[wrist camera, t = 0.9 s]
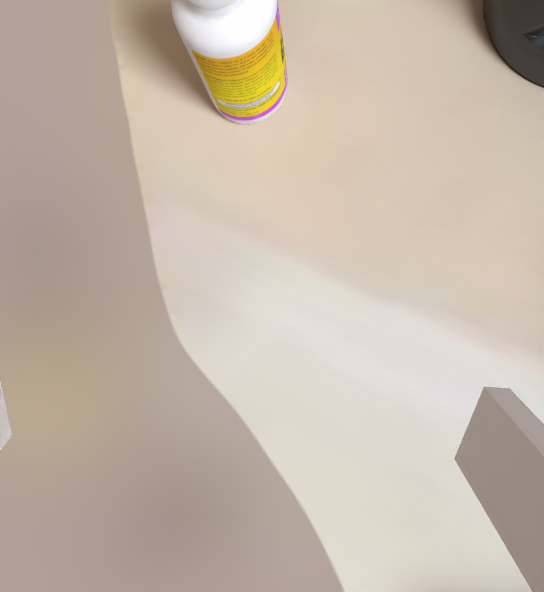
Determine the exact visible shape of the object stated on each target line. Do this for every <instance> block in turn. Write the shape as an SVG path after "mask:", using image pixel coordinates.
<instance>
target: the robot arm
mask: <svg viewBox="0 0 544 592" xmlns="http://www.w3.org/2000/svg"><path fill="white" fill-rule="evenodd" d="M484 15H485V21H486V25H487V29H488V32H489V35H490V37H491V40H492V42H493V43H494V45H495V47H496V49H497V50H498V52H499V53H500V55H501V56H502V57H503V58H504V60H505V61H506V62H507V63H508V64H509V65H510V66H511V67H512V68H513V69H515V70H516V71H517V72H518V73H520V74H521V75H523V76H524V77H526V78H527V79H529V80H531V81H533V82H535V83H537V84H539V85H541V86H544V0H484ZM11 436H12V434H11V429H10V424H9V420H8V416H7V410H6V406H5V401H4V396H3V392H2V387H1V382H0V450H1V449H2V447H3V446H4V445H5V443H6V442H7V441H8V439H9V438H10V437H11ZM454 459H455V461H456V462H457V464H458V466H459V467H460V469H461V471H462V473H463V474H464V476H465V478H466V479H467V481H468V483H469V484H470V486H471V488H472V490H473V491H474V493H475V495H476V496H477V498H478V500H479V501H480V503H481V505H482V507H483V508H484V510H485V512H486V513H487V515H488V517H489V518H490V520H491V522H492V524H493V525H494V527H495V529H496V530H497V532H498V534H499V535H500V537H501V539H502V540H503V542H504V544H505V546H506V547H507V549H508V551H509V552H510V554H511V556H512V557H513V559H514V561H515V563H516V564H517V566H518V568H519V569H520V571H521V573H522V574H523V576H524V578H525V580H526V581H527V583H528V585H529V586H530V588H531V590H532V591H533V592H544V424H543V423H542V422H541V421H540V420H539V419H538V418H537V417H536V416H535V415H534V414H533V413H532V412H531V411H530V410H529V408H528V407H527V406H526V405H525V404H524V403H523V402H522V401H521V400H520V399H519V398H518V397H517V396H516V395H515V394H514V393H513V392H512V391H511V389H508V388H494V387H484V388H483V391H482V393H481V396H480V398H479V400H478V403H477V405H476V408H475V410H474V412H473V415H472V417H471V420H470V422H469V425H468V427H467V429H466V432H465V434H464V437H463V439H462V442H461V444H460V446H459V449H458V451H457V454H456V456H455V458H454Z"/></svg>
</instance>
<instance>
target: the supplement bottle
mask: <svg viewBox="0 0 544 592" xmlns="http://www.w3.org/2000/svg"><path fill="white" fill-rule="evenodd" d="M171 11H172V17H173V20H174V23H175V26H176V28H177V30H178V33H179V35H180V37H181V39H182V41H183V43H184V45H185V47H186V49H187V51H188V53H189V55H190V57H191V59H192V61H193V63H194V65H195V67H196V69H197V71H198V73H199V75H200V77H201V79H202V81H203V83H204V85H205V88H206V90H207V92H208V94H209V96H210V98H211V100H212V102H213V104H214V106H215V107H216V109H217V110H218V111H219V112H220V113H221V114H222V115H223V116H224V117H225V118H227V119H228V120H230V121H233V122H235V123H239V124H254V123H258V122H261V121H263V120H265V119H267V118H268V117H270V116H271V115H272V114H274V113H275V112H276V111H277V110H278V108H279V107H280V106H281V104H282V102H283V100H284V98H285V96H286V92H287V86H288V78H287V69H286V61H285V54H284V46H283V38H282V32H281V24H280V17H279V9H278V1H277V0H171Z"/></svg>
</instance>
